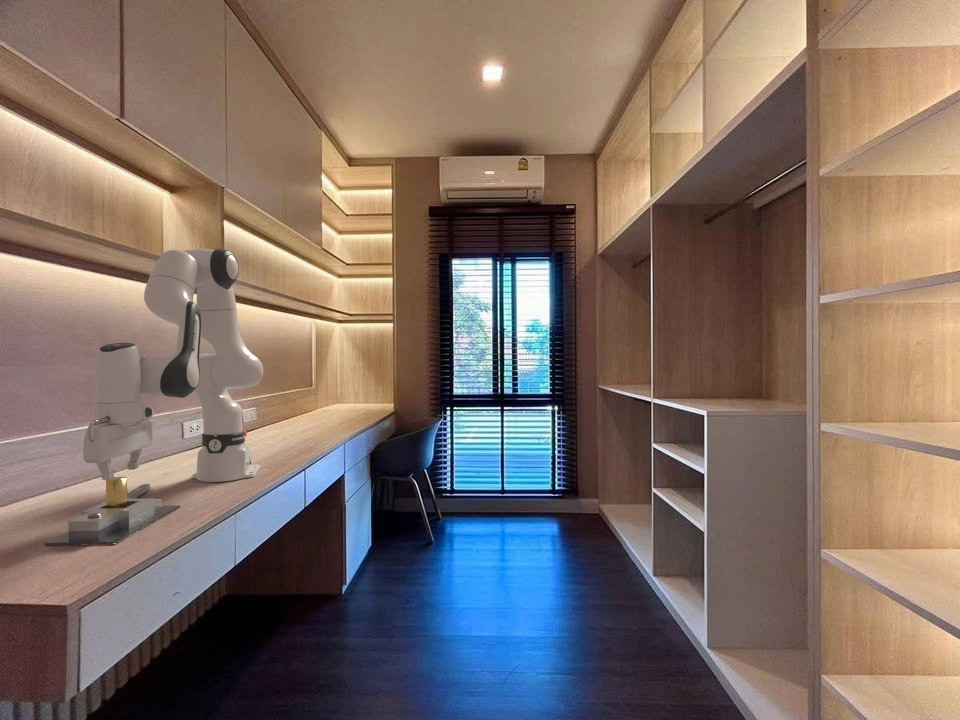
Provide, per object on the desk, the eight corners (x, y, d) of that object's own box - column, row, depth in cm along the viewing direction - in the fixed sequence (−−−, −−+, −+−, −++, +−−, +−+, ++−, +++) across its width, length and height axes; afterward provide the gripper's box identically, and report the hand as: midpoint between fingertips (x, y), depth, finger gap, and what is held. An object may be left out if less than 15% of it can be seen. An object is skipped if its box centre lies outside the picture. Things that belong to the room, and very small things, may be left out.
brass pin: (111, 520, 124) (111, 477, 124) (130, 519, 125) (130, 476, 125) (102, 525, 120) (102, 481, 120) (122, 524, 121) (122, 480, 121)
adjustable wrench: (141, 490, 154) (140, 483, 154) (165, 486, 155) (165, 480, 155) (96, 514, 129) (95, 506, 129) (125, 510, 131) (125, 502, 131)
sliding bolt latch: (123, 508, 135) (122, 488, 135) (180, 507, 136) (179, 488, 136) (44, 545, 109) (44, 521, 109) (115, 544, 110) (115, 520, 110)
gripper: (104, 420, 112) (106, 486, 113) (157, 408, 133) (159, 463, 133) (73, 420, 112) (75, 486, 112) (131, 408, 132) (132, 464, 133)
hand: (121, 473), depth 123 cm, fingers open, 8 cm apart
